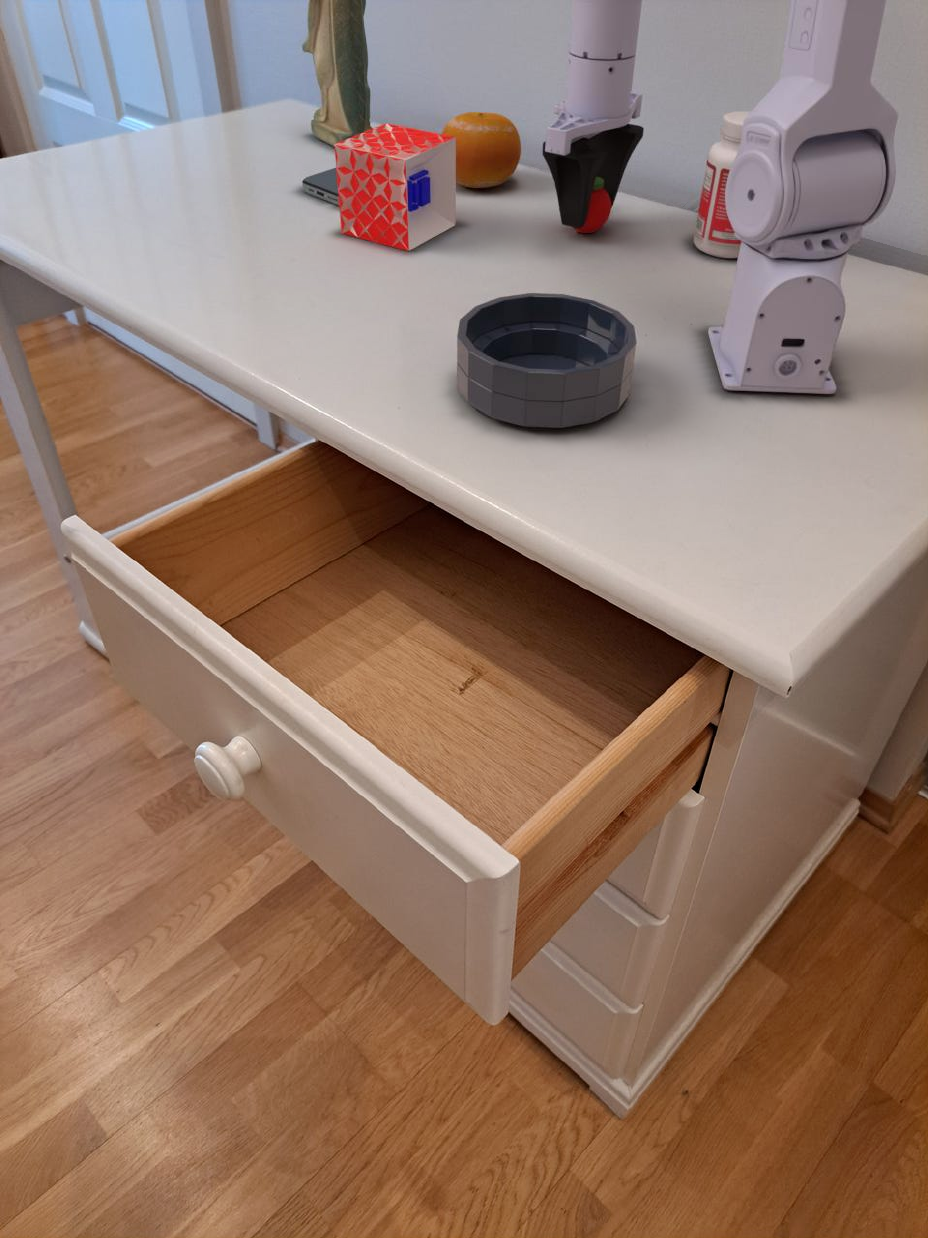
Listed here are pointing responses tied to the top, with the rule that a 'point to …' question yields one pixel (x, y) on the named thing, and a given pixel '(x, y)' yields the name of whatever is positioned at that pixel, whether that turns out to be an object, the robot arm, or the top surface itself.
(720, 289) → the top surface
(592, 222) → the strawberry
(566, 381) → the bowl
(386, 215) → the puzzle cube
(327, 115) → the statue
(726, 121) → the pill bottle
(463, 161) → the fruit
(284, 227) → the top surface
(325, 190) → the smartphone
